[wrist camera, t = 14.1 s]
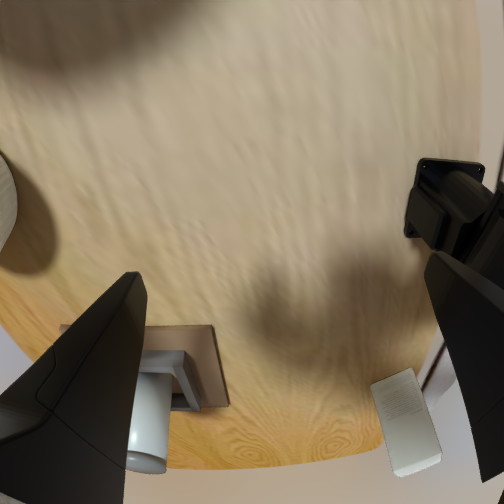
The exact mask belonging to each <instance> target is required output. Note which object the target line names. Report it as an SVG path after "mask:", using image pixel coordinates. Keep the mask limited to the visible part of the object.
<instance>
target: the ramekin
mask: <svg viewBox="0 0 504 504" xmlns="http://www.w3.org/2000/svg"><path fill="white" fill-rule="evenodd" d="M17 207H18V204H17V193H16V187H15V183H14V179H13V177H12V174H11V172H10V170H9V167H8V166H7V164H6V162H5V160H4V159H3V158H2V156H1V155H0V251H1V250H2V248H3V246H4V244H5V242H6V240H7V239H8V237H9V235H10V233H11V232H12V229H13V227H14V225H15V221H16V217H17Z"/></svg>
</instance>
